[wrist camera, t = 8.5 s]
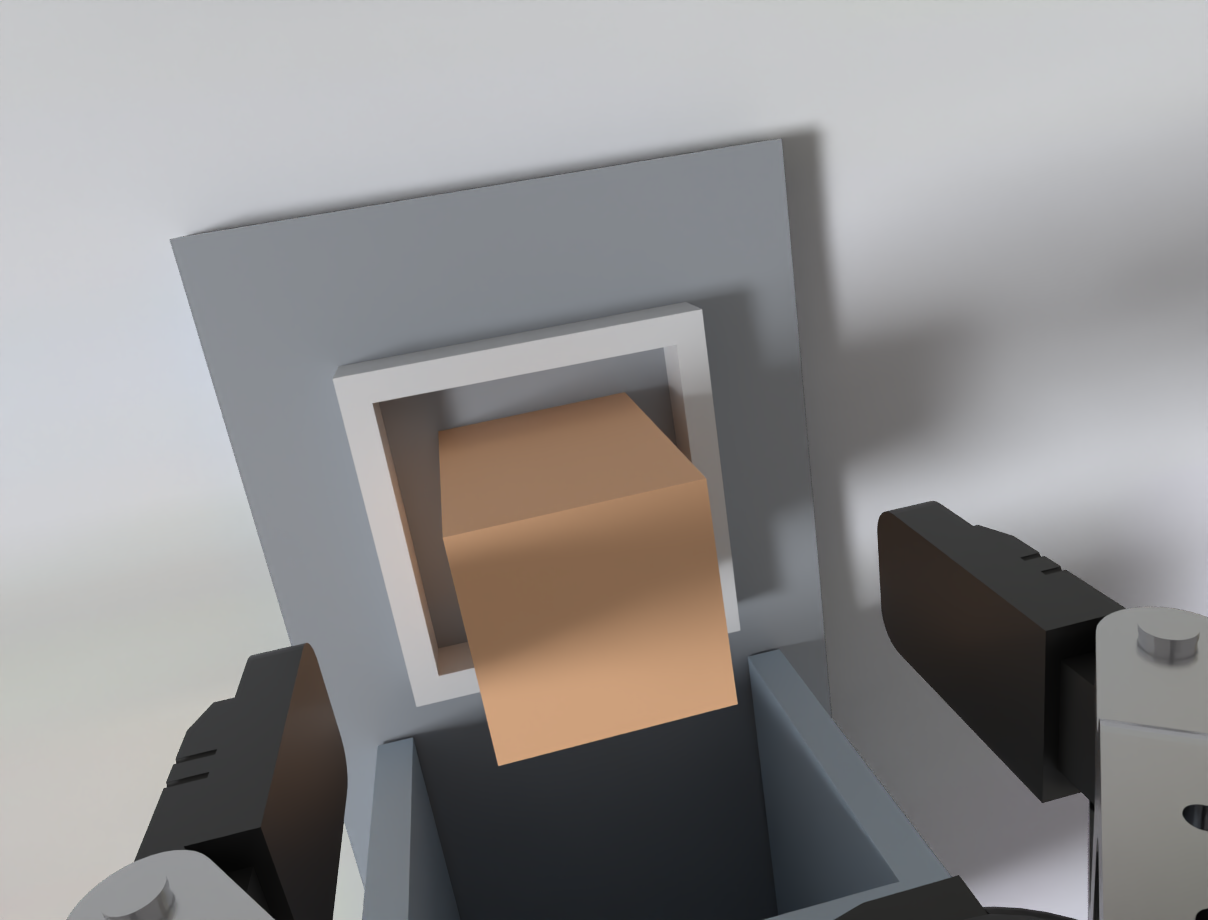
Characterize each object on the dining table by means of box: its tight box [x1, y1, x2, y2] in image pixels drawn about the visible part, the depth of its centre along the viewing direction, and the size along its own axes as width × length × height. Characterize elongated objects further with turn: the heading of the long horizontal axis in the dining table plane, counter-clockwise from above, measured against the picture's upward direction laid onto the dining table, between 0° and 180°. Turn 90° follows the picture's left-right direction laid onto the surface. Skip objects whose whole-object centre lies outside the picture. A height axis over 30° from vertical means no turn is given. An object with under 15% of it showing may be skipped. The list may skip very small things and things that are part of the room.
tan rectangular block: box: [438, 392, 738, 766], centre depth 17 cm, size 4×4×6 cm
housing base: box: [170, 139, 832, 920], centre depth 21 cm, size 23×12×2 cm, turn 9°
